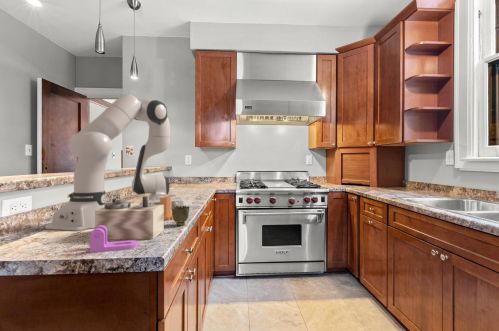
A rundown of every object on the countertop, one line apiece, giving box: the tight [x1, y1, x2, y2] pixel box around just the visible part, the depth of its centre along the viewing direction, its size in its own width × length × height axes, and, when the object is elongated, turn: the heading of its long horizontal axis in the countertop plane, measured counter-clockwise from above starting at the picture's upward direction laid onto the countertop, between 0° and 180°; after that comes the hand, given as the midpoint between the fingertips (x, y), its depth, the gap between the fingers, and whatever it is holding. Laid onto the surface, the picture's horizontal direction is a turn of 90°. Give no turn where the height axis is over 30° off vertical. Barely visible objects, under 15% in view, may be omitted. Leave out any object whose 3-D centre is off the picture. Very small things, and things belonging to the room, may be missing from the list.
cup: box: [171, 205, 190, 227], centre depth 116 cm, size 8×7×8 cm
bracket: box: [89, 225, 139, 254], centre depth 86 cm, size 13×6×7 cm, turn 109°
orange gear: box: [160, 197, 174, 221], centre depth 130 cm, size 9×9×10 cm
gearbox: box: [94, 196, 165, 240], centre depth 102 cm, size 20×13×14 cm, turn 92°
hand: (166, 206), depth 129 cm, fingers open, 8 cm apart
